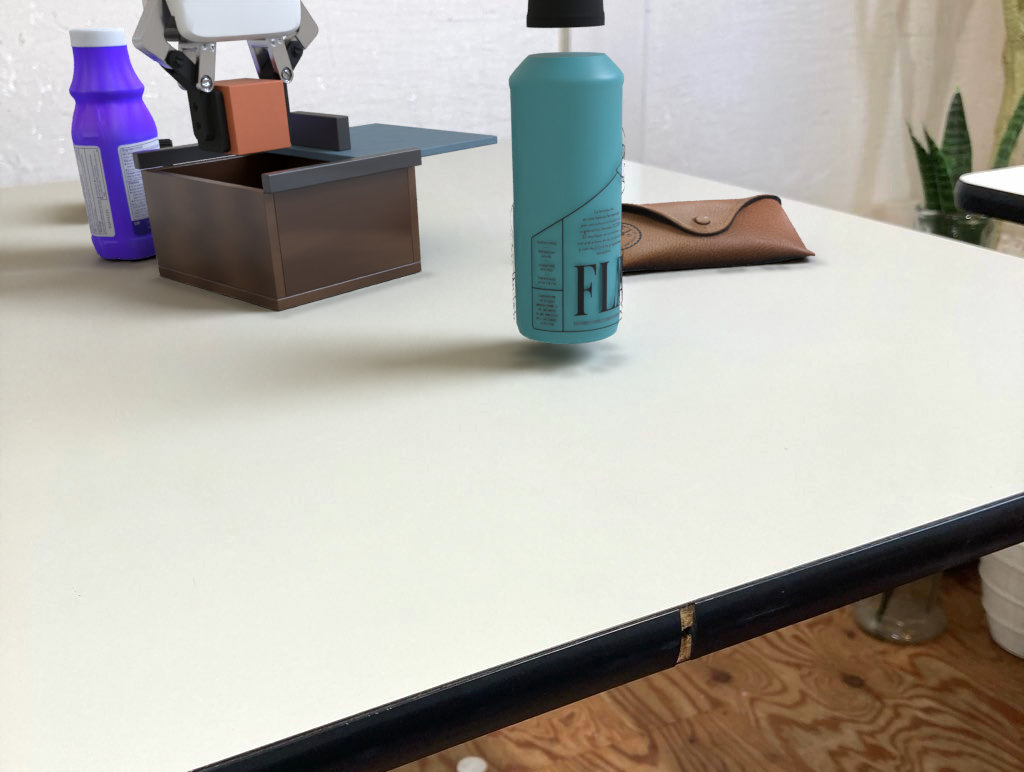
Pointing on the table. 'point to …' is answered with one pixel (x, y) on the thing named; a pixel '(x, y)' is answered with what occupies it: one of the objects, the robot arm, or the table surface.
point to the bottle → (111, 142)
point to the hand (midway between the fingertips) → (245, 143)
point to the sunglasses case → (708, 234)
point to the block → (255, 114)
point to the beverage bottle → (567, 184)
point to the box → (281, 221)
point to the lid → (369, 138)
